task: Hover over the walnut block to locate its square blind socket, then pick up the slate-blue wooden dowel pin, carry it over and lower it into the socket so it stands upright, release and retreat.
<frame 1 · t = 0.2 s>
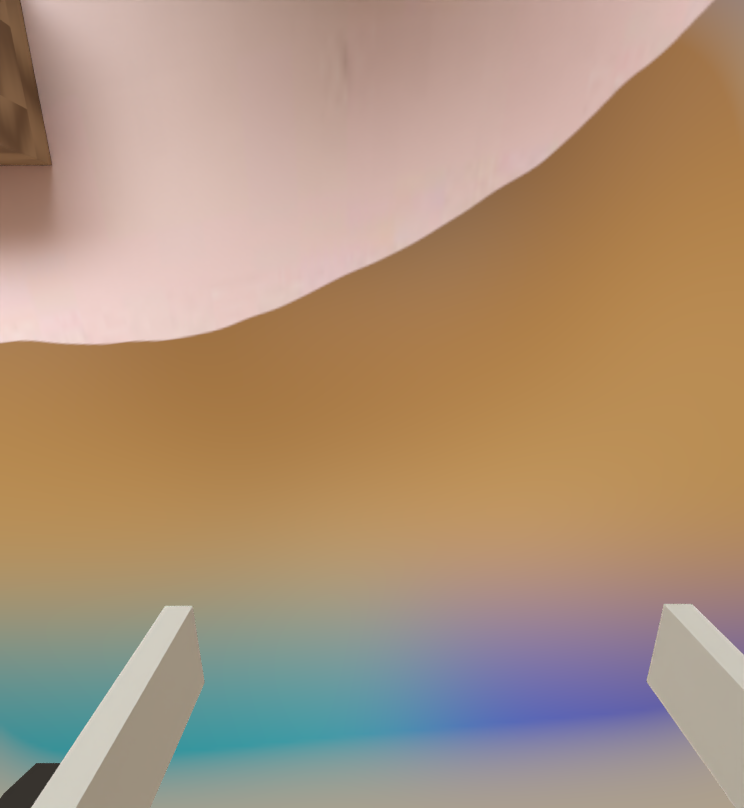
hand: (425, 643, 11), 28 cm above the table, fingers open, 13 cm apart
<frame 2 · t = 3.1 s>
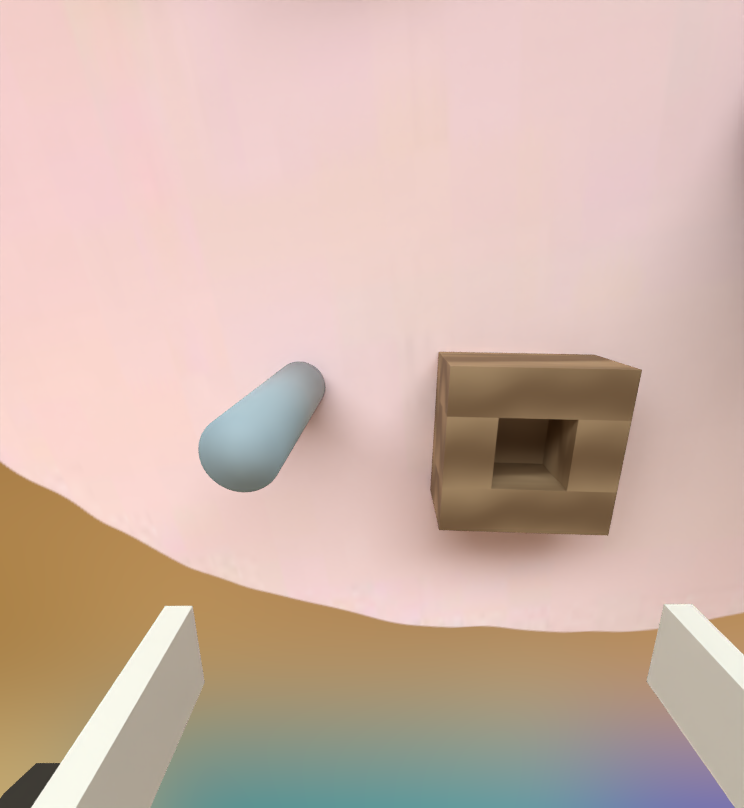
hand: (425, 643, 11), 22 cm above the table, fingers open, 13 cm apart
pin: (300, 385, 33), on the table
socket block: (507, 426, 33), on the table
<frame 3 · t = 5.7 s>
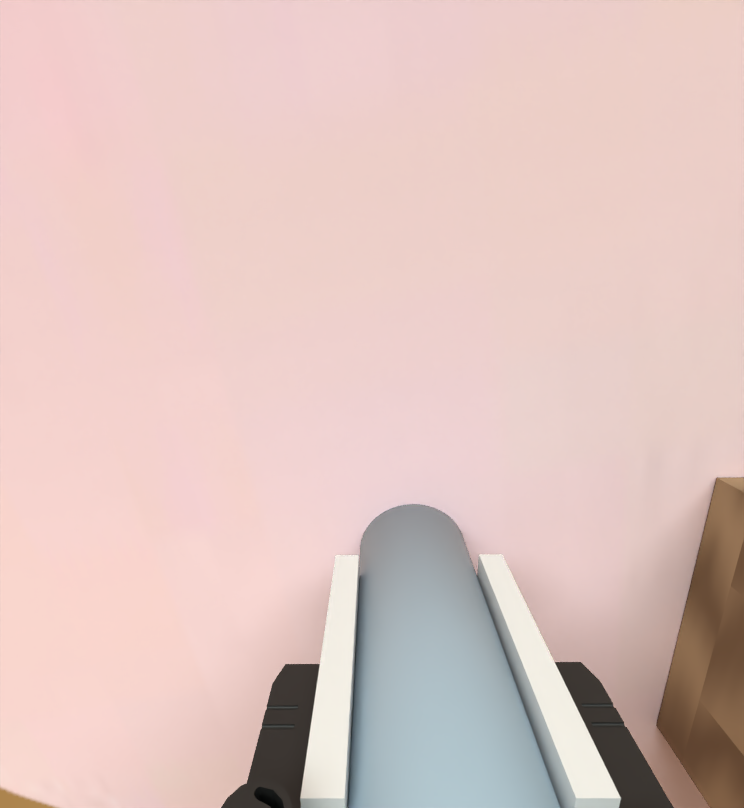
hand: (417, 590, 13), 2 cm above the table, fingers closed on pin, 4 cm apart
pin: (412, 550, 15), on the table, touching gripper
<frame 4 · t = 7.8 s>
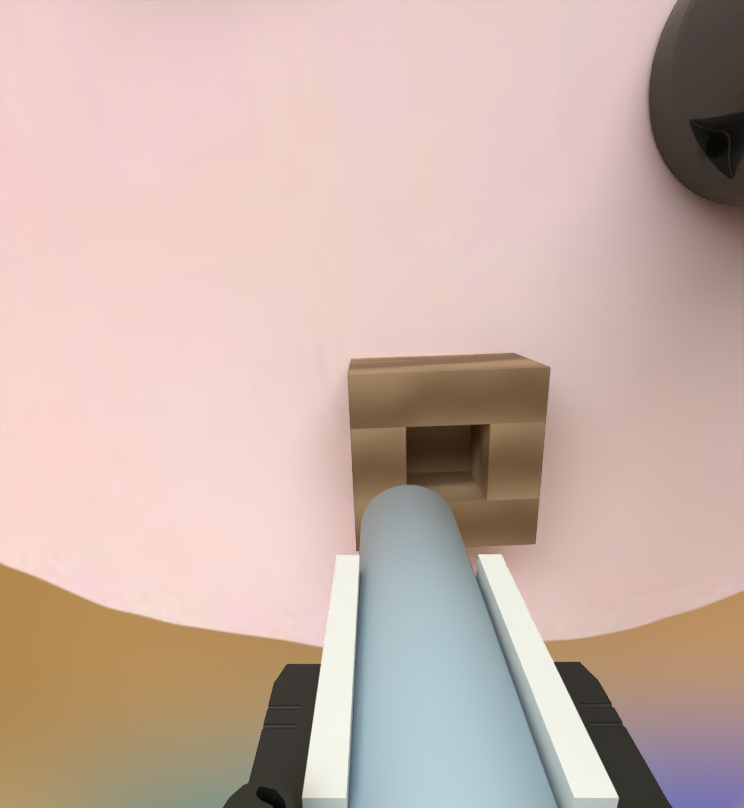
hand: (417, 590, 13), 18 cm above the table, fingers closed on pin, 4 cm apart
pin: (407, 527, 17), point 14 cm above the table, touching gripper
socket block: (432, 433, 31), on the table
when the fingers open (7 cm above the table, at t = 10.1 s): pin drops 1 cm, resting on socket block.
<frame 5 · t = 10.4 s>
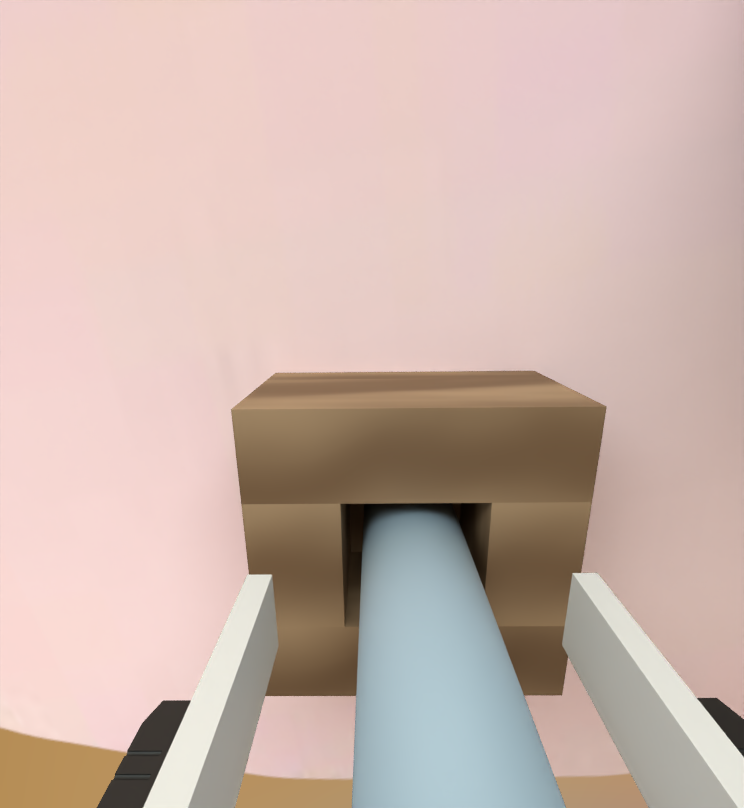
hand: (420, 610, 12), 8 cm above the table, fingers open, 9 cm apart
pin: (406, 504, 19), point 2 cm above the table, touching socket block
socket block: (403, 489, 20), on the table
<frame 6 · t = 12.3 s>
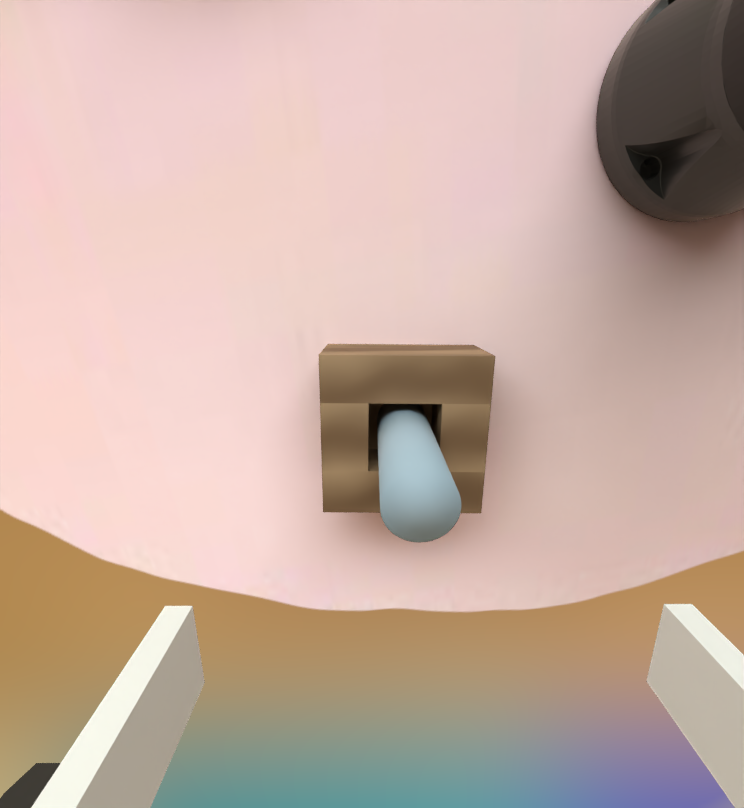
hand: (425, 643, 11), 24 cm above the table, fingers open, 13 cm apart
pin: (401, 419, 33), point 1 cm above the table, touching socket block
socket block: (399, 414, 35), on the table
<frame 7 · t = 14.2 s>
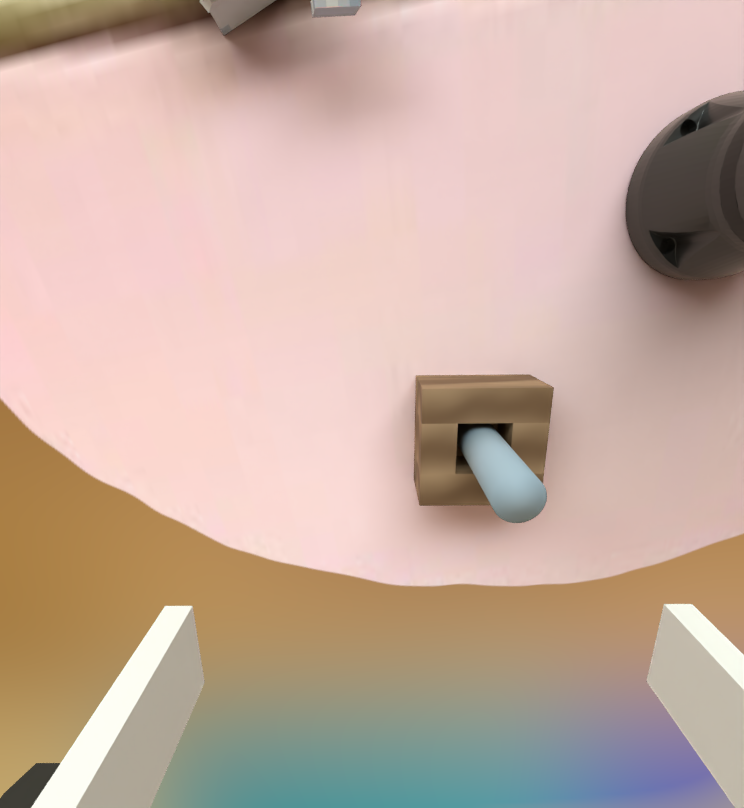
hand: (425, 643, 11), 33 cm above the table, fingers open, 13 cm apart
pin: (473, 433, 43), point 1 cm above the table, touching socket block
socket block: (469, 428, 44), on the table
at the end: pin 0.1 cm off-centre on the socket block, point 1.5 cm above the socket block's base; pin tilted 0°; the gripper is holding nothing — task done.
